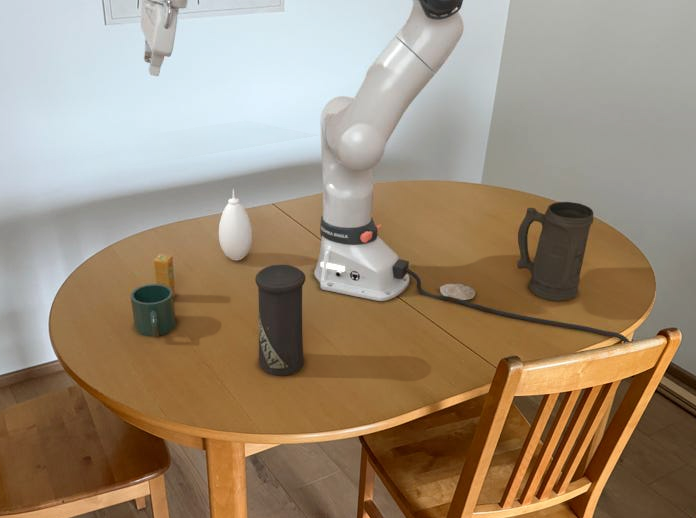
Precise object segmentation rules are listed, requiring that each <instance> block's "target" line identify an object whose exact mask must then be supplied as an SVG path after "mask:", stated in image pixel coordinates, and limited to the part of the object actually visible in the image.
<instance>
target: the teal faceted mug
mask: <svg viewBox="0 0 696 518" xmlns="http://www.w3.org/2000/svg"><path fill="white" fill-rule="evenodd" d="M174 301H175V299H174V297H173V291H172V289H171V288H169V287H168V286H165V285H161V284H156V283H151V284H144V285H140V286H139V287H136V288H135V289H133V290H132V291H131V293H130V303H131V308H132V316H133V322H134V327H135V330H136V331H137V333H139V334H141V335H143V336H147V337H153V338H155V339H156V338H159V337H160V336H163V335H166V334H168V333H170V332H172V331H173V330H174V329H175V328H176V326H177V319H176V310H175V302H174Z"/></svg>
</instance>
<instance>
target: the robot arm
mask: <svg viewBox="0 0 696 518" xmlns="http://www.w3.org/2000/svg"><path fill="white" fill-rule="evenodd" d="M141 1H142V2H141V16H140V29H141V32H142V34H143V36H144V53H143V60H144V62H145V63H148V64H149V68H148V72H149V75H150V76H153V77H159V76H160V72H161V68H162V65H163V62H164V60H165V57H168V58H170V57H171V56H172V53H173V51H174V45H175V37H176V32H177V24H178V15H179V11H180V9H186V8H187V6H188V1H189V0H141ZM412 1H413V2H412V8H411V12H410V14H409V16H408V18H407V20H406V22H405V23H404V25H402V27H401V28H400V29H399V30H398V31H397V33H396V34H395V35H394V36H393V38H392V39H390V41H389V42H388V43H387V45H386V46H385V47H384V49H383V50H382V51H381V52H380V53H379V55H378V56H377V57H376V58H375V60H374V61H373V62H372V63H371V65H370V66H369V68H368V69H367V71H366V75H365V77H364V79H363V81H362V83H361V85H360V87H359V89H358V91H357V92H356V94H355V96H354V97H350V96H345V95H343V96H340V95H339V96H337V97H333V98H332V99H330V100H329V101H327V103H325V105H324V107H323V109H322V111H321V113H320V121H319V122H320V123H319V124H320V148H321V149H320V153H321V169H322V170H321V171H322V181H323V182H322V183H323V184H322V185H323V188H322V215H321V217H320V226H319V233H320V239H321V240H320V249H319V253H318V258H317V263H316V266H315V268H314V271H313V274H314V277H315V279H316V280H317V281H318V282H319V287H320V289H321V290H324V291H327V292H332V293H338V294H341V295H347V296H352V297H357V298H362V299H366V300H371V301H377V302H387V301H389V300H392V299H394V298H396V297H397V296H399V295H401V294H402V293H403V292H404V291H405V290H406V289H407V288H408V287H409V284H410V276H411V277H412V278H414V279H415V281H416V289H417V291H418V292H419V293H420V294H421V295H422V296H424V297H429V298H432V299H437V300H441V301H448V302H449V301H450V302H453V303H456V304H460V305H463V306H467V307H470V308H473V309H476V310H480V311H484V312H487V313H492V314H495V315H499V316H504V317H509V318H512V319H518V320H523V321H526V322H527V321H528V322H533V323H538V324H545V325H551V326H557V327H563V328H568V329H573V330H579V331H585V332H590V333H595V334H597V335H598V334H599V335H603V336H608V337H613V338H617V339H619V340H621V341H622V342H623V343H624V344H625V342H630V340H629V339H628V338H627V337H626V336H624V335H623V334H621V333H618V332H614V331H608V330H603V329H599V328H595V327H590V326H586V325H581V324H580V325H579V324H574V323H567V322H561V321H557V320H550V319H544V318H539V317H534V316H533V317H532V316H528V315H522V314H517V313H513V312H508V311H503V310H499V309H496V308H495V309H494V308H491V307H488V306H483V305H479V304H476V303H473V302H470V301H468V300H460V299H457V298H453V297H448V296H443V295H437V294H436V295H435V294H431V293H428V292H427V291H425V290H424V289H423V288H422V282H421V278H420V277H419V275H418V274H416V272H414V271H412V270H411V269H409V267H410V266H409V265H410V261H409V260H405V259H400V258H399V255H398V254H397V253H396V252H395V251H394V250H393V249H392V248H391V247H390V246H389V245H388V244H387V243H386V242H385V241H384V240H383V239H382V238H381V237H380V236H379V233H378V231H380V230H381V229H382V225H383V223H379V224H378V225H376V224H375V221H374V218H373V203H374V202H373V201H374V185H375V184H374V179H373V178H374V177H373V170H372V169H373V168H374V167H375V166H377V164H379V162H380V161H381V160H382V159H383V156H384V155H385V154H384V153H385V151H386V146H387V144H388V141H389V140H390V138H391V136H392V134H393V133H394V131H395V130H396V127H397V126H398V124H399V123H400V121H401V119H402V118H403V115H404V114H405V112H406V111H407V109H408V108H409V106H411V104H412V103H413V101H415V99H416V98H417V97H418V95H420V93H421V92H422V91H423V89H425V87H426V86H427V85H428V84H429V82H430V81H431V80H432V79H433V77H434V76H435V75H436V74H437V72H439V70H440V69H441V68H442V67H443V66H444V64H445V63H446V61H447V60H448V59H449V57H450V56H451V54H452V52H453V51H454V50H455V48H456V46H457V45H458V43H459V41H460V40H461V38H462V36H463V33H464V21H463V18H462V16H461V14H460V12H459V11H460V10H461V8H462V6H463V2H464V0H412Z"/></svg>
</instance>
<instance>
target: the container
mask: <svg viewBox="0 0 696 518" xmlns="http://www.w3.org/2000/svg"><path fill="white" fill-rule="evenodd" d="M254 280H255V284H256V286H257V287H258V289H257V290H258V291H257V292H258V294H257V295H258V365H259V367H260V369H261V370H262V371H264V372H265V373H266V374H270V375H273V376H280V377H281V376H282V377H283V376H290V375H291V376H292V375H294V374H296V373H298V372H299V371H300V370H301V369H302V368H303V366H304V342H303V340H304V338H303V337H304V336H303V286H304V284H305V282H306V274H305V273H304V272H303V270H301V268H298V267H296V266H293V265H290V264H289V265H288V264H273V265H269V266H265V267H264V268H262V269H260V270H259V271H258V272H257V273H256V275H255V279H254Z"/></svg>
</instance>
